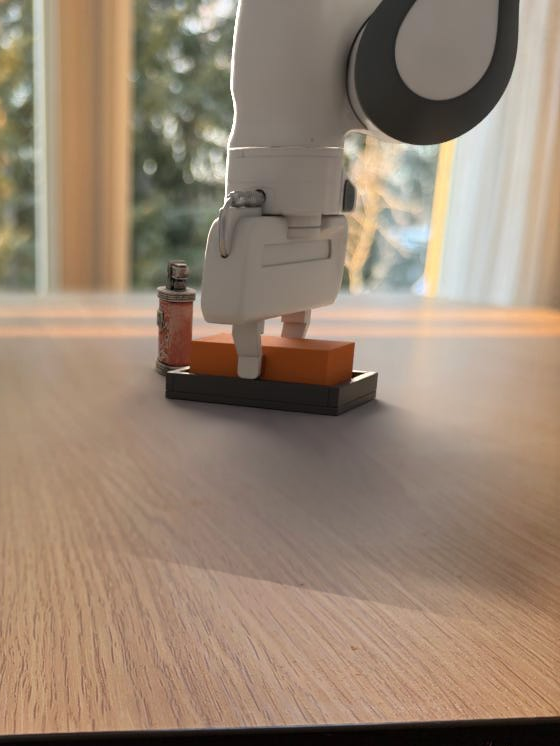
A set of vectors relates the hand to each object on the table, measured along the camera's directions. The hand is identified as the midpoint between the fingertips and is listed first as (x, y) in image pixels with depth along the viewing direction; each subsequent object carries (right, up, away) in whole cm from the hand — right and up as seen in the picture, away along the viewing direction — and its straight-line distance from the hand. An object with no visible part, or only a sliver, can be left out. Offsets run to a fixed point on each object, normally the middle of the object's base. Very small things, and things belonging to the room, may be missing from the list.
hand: (269, 371), depth 88 cm
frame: (0, -2, +1) cm, 2 cm away
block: (0, -1, +1) cm, 2 cm away
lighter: (-7, +4, +15) cm, 17 cm away
